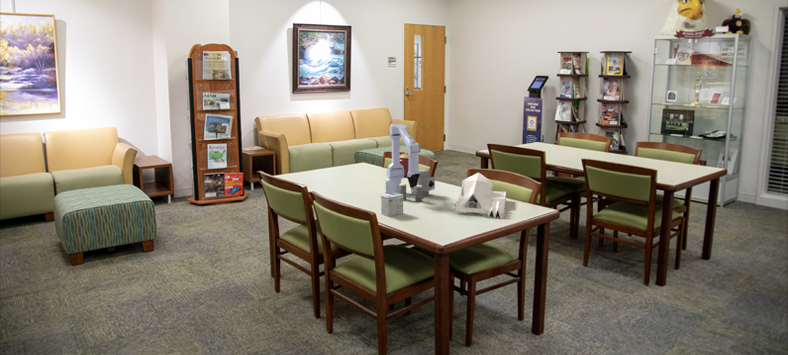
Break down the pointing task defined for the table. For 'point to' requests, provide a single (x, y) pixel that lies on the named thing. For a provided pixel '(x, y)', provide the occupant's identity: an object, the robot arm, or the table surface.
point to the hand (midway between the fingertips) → (413, 186)
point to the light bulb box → (392, 204)
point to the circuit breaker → (425, 182)
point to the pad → (411, 196)
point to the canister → (405, 163)
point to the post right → (418, 193)
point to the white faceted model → (480, 197)
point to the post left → (403, 190)
